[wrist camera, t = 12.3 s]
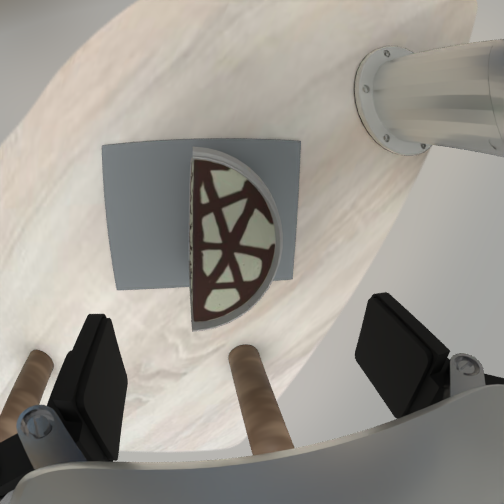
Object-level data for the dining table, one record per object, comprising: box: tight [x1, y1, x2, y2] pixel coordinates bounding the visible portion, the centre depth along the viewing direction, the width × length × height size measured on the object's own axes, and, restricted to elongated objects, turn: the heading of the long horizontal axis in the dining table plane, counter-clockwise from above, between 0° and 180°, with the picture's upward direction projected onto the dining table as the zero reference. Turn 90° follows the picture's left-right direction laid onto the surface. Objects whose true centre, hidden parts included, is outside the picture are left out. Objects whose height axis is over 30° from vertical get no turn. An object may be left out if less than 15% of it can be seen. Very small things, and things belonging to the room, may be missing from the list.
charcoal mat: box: [102, 139, 301, 290], centre depth 28 cm, size 18×14×1 cm
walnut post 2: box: [229, 345, 294, 455], centre depth 28 cm, size 4×4×14 cm
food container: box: [189, 147, 283, 332], centre depth 23 cm, size 12×6×10 cm, turn 176°
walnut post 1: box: [0, 350, 54, 442], centre depth 23 cm, size 4×4×14 cm
